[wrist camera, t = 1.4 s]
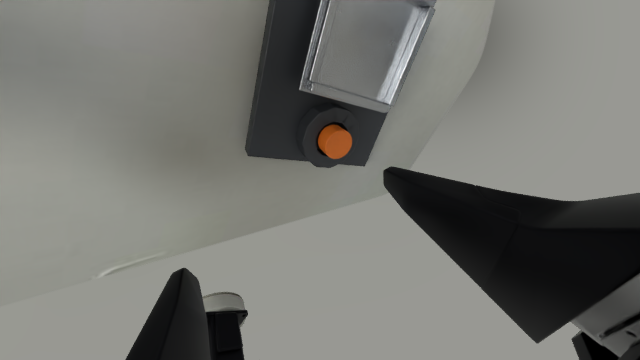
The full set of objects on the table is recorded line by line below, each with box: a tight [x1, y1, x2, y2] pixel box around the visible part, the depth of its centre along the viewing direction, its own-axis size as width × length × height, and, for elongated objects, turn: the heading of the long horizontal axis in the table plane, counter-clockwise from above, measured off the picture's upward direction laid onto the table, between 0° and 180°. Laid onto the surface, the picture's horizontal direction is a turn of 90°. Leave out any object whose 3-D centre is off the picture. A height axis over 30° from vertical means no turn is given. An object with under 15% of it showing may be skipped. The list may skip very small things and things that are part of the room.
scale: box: [245, 0, 391, 168], centre depth 19 cm, size 15×13×3 cm
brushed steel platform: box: [297, 0, 436, 113], centre depth 16 cm, size 9×9×1 cm
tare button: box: [318, 125, 352, 159], centre depth 19 cm, size 3×3×2 cm
